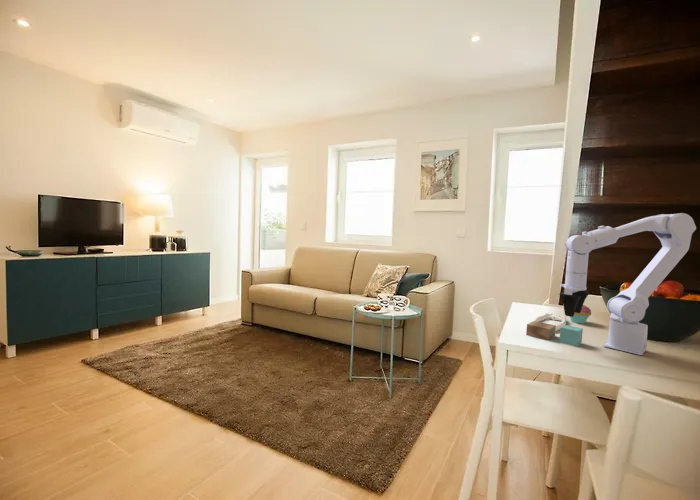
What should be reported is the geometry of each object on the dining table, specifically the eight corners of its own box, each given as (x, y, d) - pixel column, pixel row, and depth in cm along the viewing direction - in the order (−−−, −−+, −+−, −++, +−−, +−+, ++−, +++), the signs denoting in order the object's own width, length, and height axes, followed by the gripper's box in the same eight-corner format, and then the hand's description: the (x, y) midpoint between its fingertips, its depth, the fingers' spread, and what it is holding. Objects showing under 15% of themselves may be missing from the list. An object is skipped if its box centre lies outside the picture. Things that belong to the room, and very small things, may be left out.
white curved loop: (570, 322, 140) (556, 335, 122) (543, 317, 147) (526, 329, 128) (571, 315, 140) (557, 328, 122) (544, 311, 147) (526, 322, 128)
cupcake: (595, 325, 135) (598, 294, 134) (573, 324, 135) (576, 294, 134) (581, 319, 144) (583, 290, 143) (560, 318, 144) (562, 289, 143)
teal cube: (581, 343, 113) (582, 328, 113) (577, 346, 110) (578, 331, 109) (564, 339, 117) (565, 324, 117) (559, 342, 114) (560, 327, 113)
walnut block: (555, 336, 120) (555, 325, 120) (548, 341, 115) (549, 329, 115) (533, 331, 125) (534, 320, 125) (526, 335, 120) (527, 324, 120)
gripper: (569, 269, 119) (565, 308, 121) (554, 272, 110) (551, 315, 111) (593, 272, 114) (590, 312, 115) (580, 275, 104) (577, 320, 106)
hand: (572, 314), depth 113 cm, fingers open, 7 cm apart
